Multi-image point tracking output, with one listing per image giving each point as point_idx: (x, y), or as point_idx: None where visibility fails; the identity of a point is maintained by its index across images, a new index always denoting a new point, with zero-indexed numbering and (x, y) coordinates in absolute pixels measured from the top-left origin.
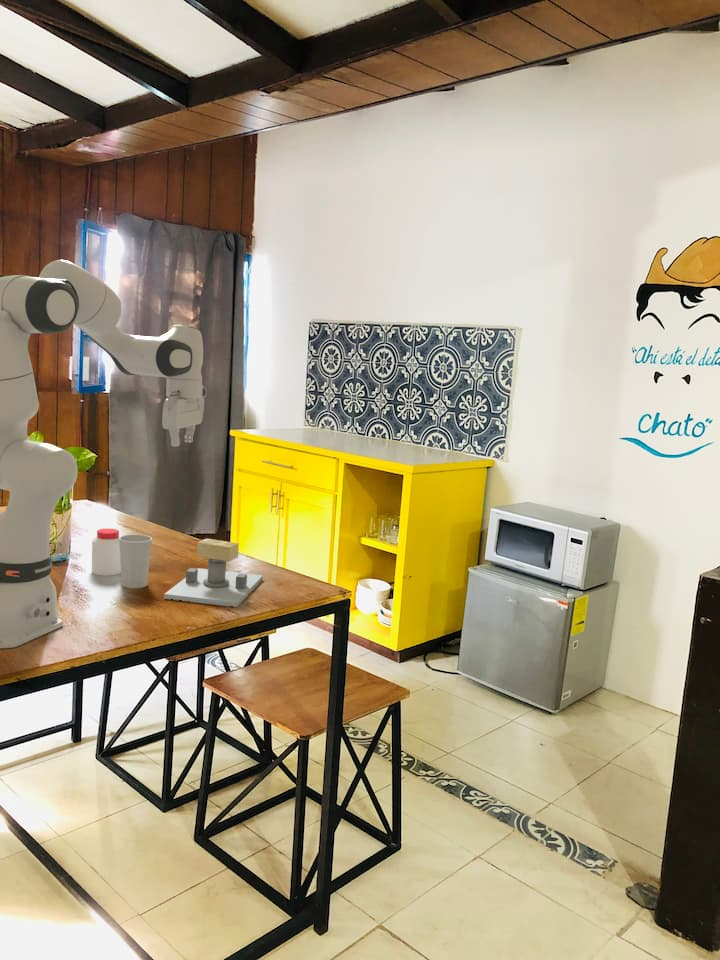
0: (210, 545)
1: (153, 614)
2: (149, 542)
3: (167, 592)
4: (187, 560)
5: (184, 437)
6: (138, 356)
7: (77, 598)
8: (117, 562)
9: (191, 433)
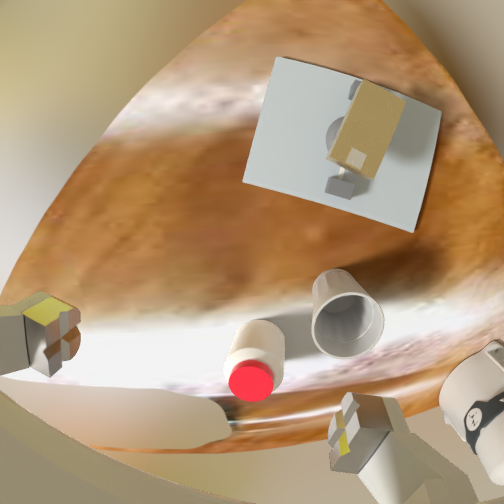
0: (387, 146)
1: (472, 241)
2: (366, 294)
3: (405, 228)
4: (162, 211)
5: (58, 369)
6: None
7: (402, 355)
8: (274, 335)
9: (4, 327)
